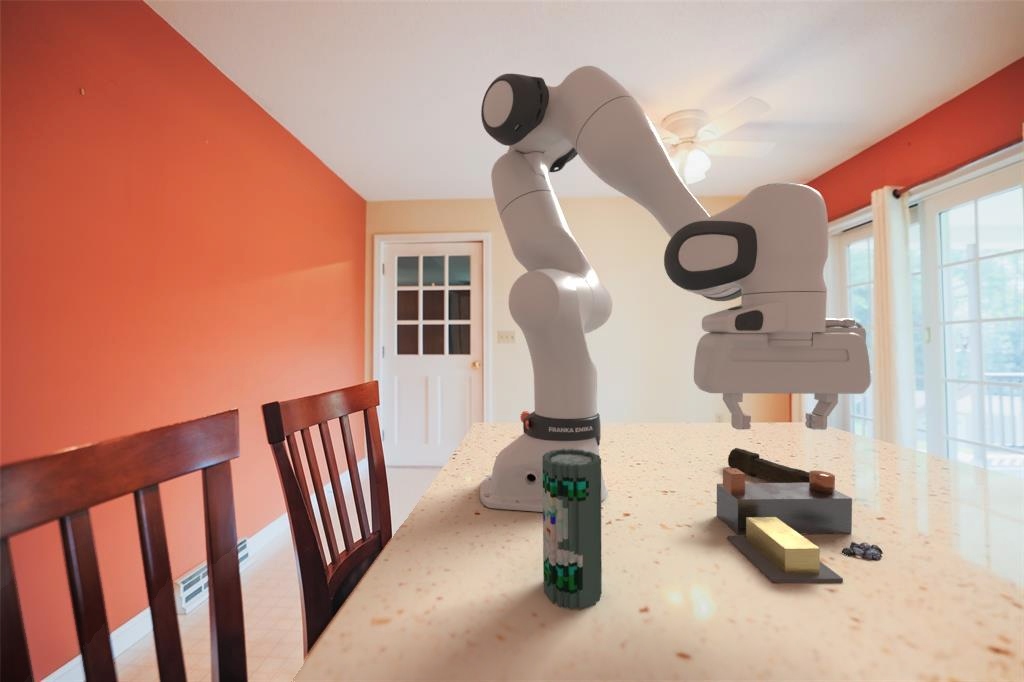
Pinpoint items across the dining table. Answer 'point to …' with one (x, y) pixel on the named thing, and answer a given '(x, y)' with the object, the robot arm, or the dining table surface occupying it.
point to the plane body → (785, 503)
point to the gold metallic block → (783, 545)
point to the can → (572, 528)
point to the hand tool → (765, 468)
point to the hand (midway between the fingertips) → (778, 428)
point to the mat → (774, 572)
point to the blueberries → (864, 551)
